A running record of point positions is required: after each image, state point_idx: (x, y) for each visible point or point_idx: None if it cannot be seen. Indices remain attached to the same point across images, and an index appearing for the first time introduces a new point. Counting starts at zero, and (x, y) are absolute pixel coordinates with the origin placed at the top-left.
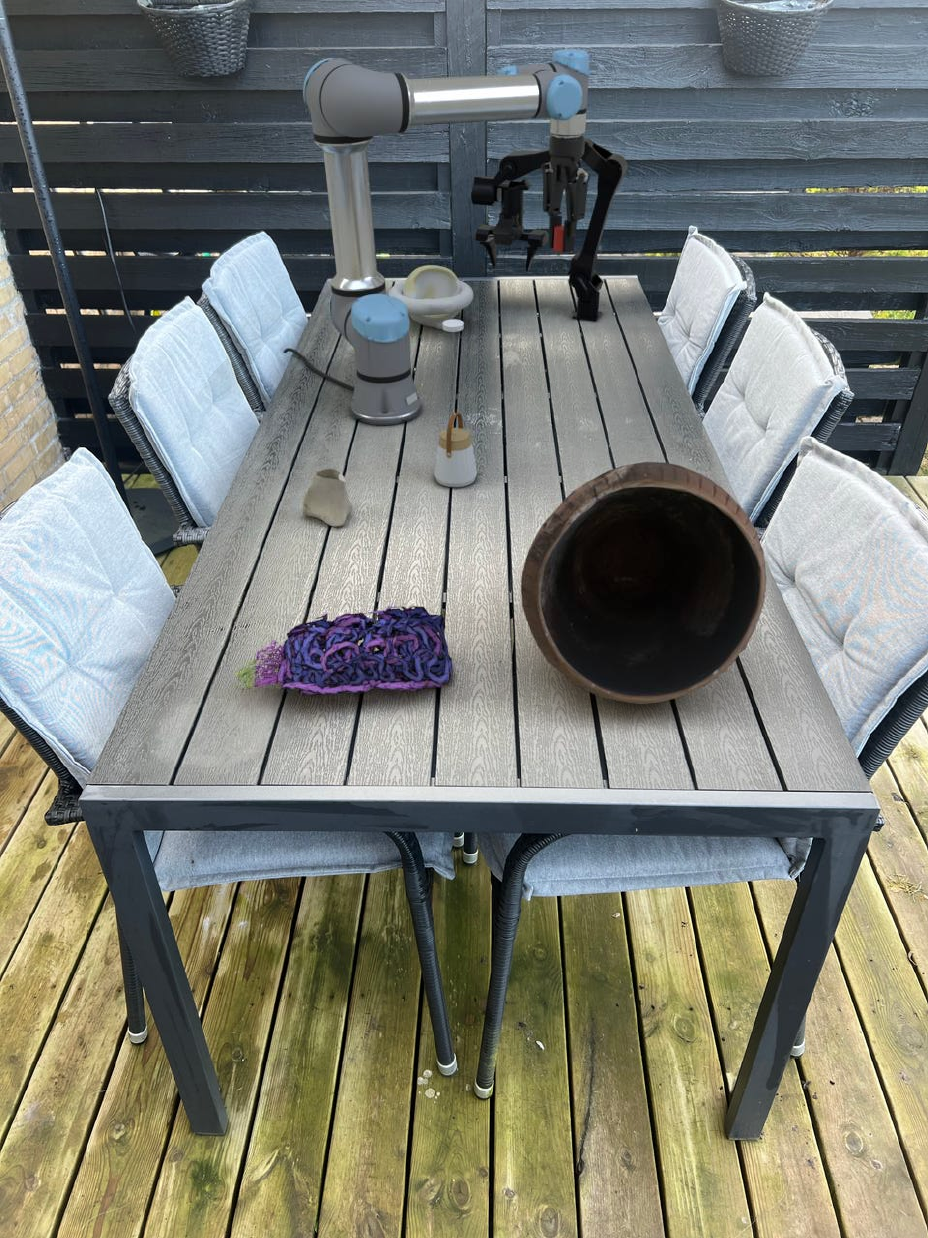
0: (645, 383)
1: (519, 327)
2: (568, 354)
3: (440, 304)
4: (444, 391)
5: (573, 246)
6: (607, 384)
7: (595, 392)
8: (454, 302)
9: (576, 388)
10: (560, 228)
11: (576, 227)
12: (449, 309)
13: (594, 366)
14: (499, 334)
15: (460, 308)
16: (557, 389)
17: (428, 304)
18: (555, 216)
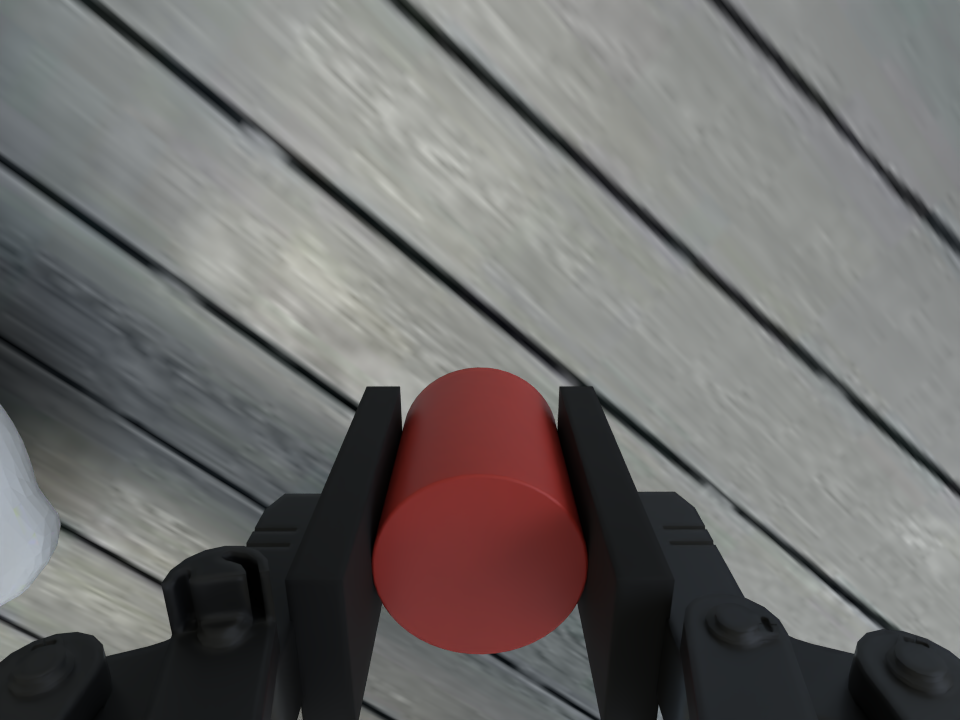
0: (924, 173)
1: (133, 153)
2: (509, 203)
3: (31, 576)
4: (479, 681)
5: (598, 405)
6: (813, 293)
7: (820, 372)
8: (17, 504)
9: (749, 398)
10: (489, 607)
11: (722, 559)
12: (57, 531)
13: (669, 209)
14: (163, 277)
15: (25, 449)
16: (707, 448)
17: (1, 604)
18: (298, 659)
